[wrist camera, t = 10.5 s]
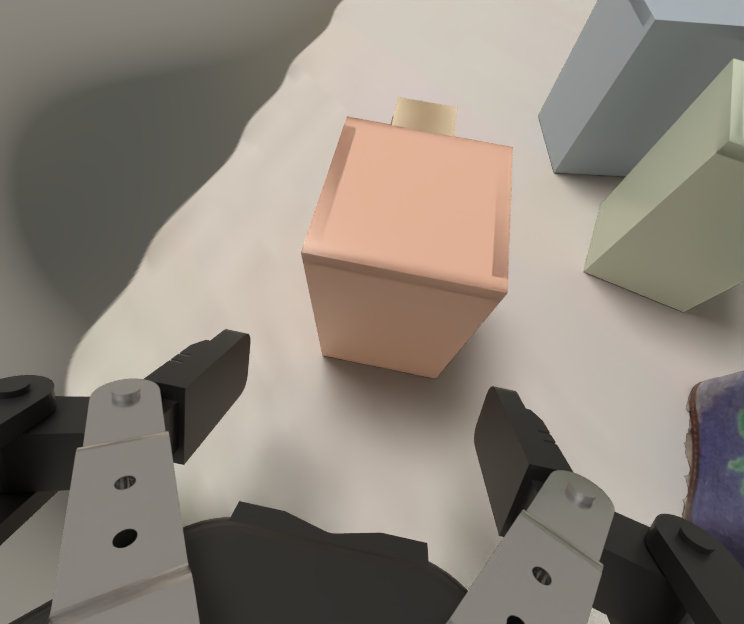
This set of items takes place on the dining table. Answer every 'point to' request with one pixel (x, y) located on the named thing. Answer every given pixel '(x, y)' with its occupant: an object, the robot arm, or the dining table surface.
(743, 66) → the pale green bevelled block
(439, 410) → the dining table surface
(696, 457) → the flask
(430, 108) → the tan cube
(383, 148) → the peach pink block
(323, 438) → the dining table surface
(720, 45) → the blue grey bevelled block
